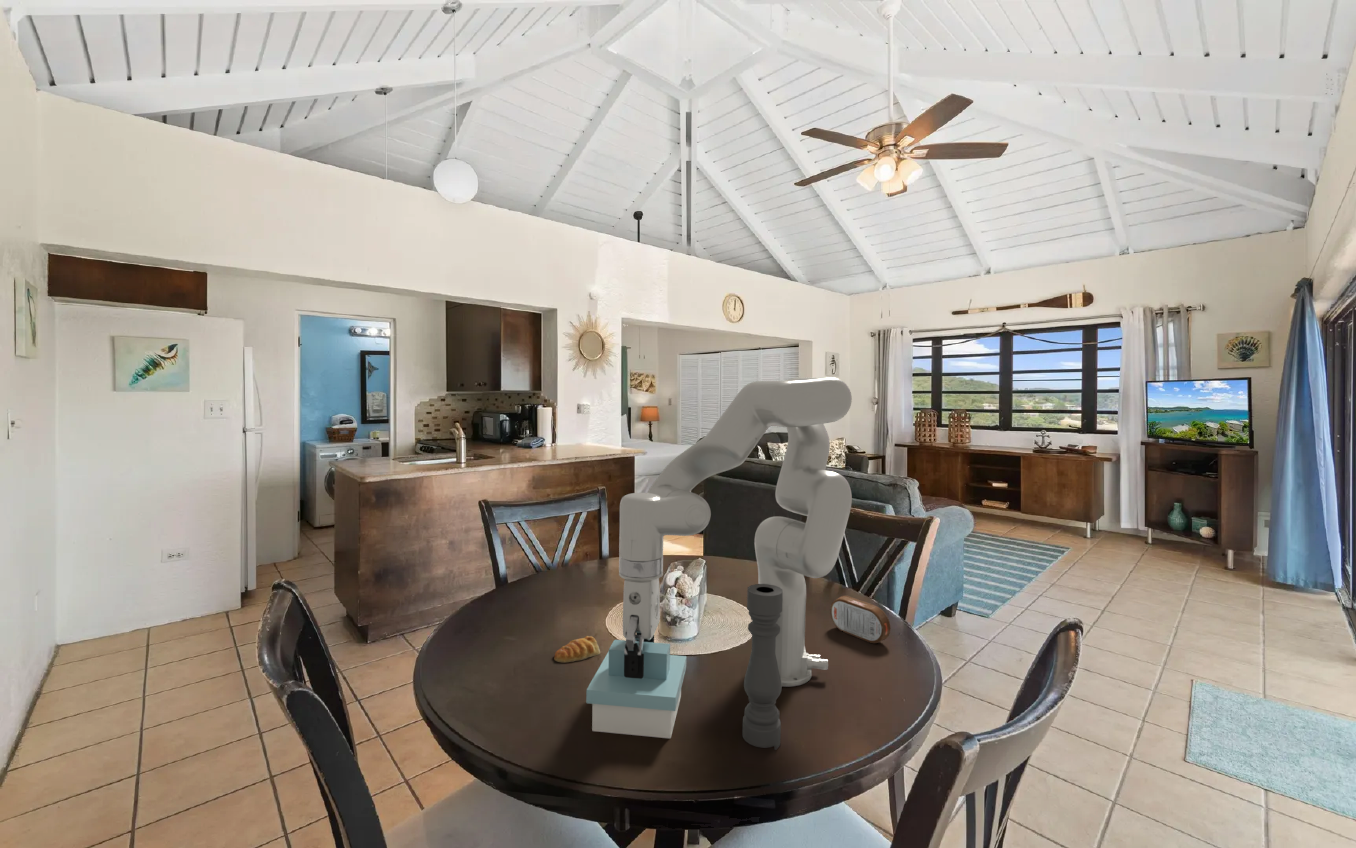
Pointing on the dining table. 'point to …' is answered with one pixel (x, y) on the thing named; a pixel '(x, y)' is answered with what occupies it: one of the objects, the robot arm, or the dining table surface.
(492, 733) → the dining table surface
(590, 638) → the pastry
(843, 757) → the dining table surface
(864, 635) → the tin
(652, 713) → the tub
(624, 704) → the lid
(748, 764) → the dining table surface
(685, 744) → the dining table surface
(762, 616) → the candle holder
